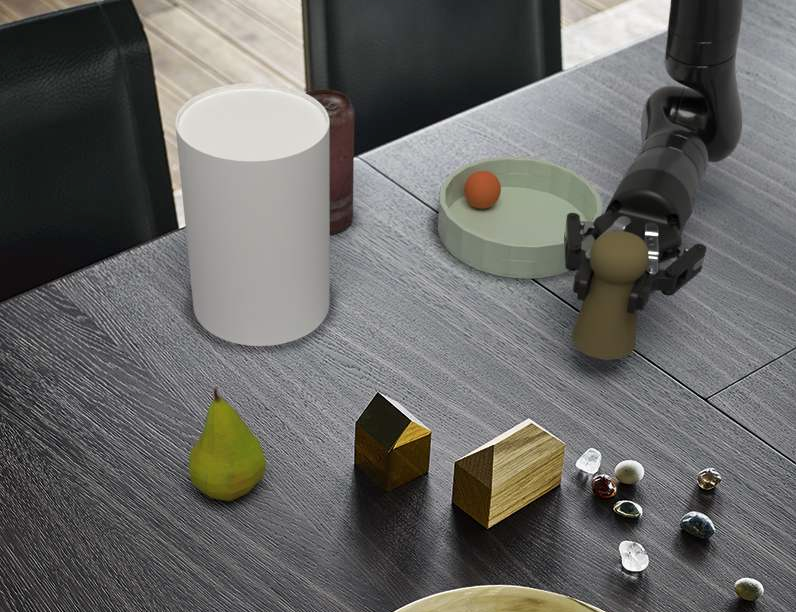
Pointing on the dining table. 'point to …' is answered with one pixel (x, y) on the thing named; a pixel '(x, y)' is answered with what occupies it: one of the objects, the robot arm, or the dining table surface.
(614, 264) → the brown pawn
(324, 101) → the can
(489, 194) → the ball
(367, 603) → the dining table surface
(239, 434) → the fruit
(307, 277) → the canister
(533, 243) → the bowl
